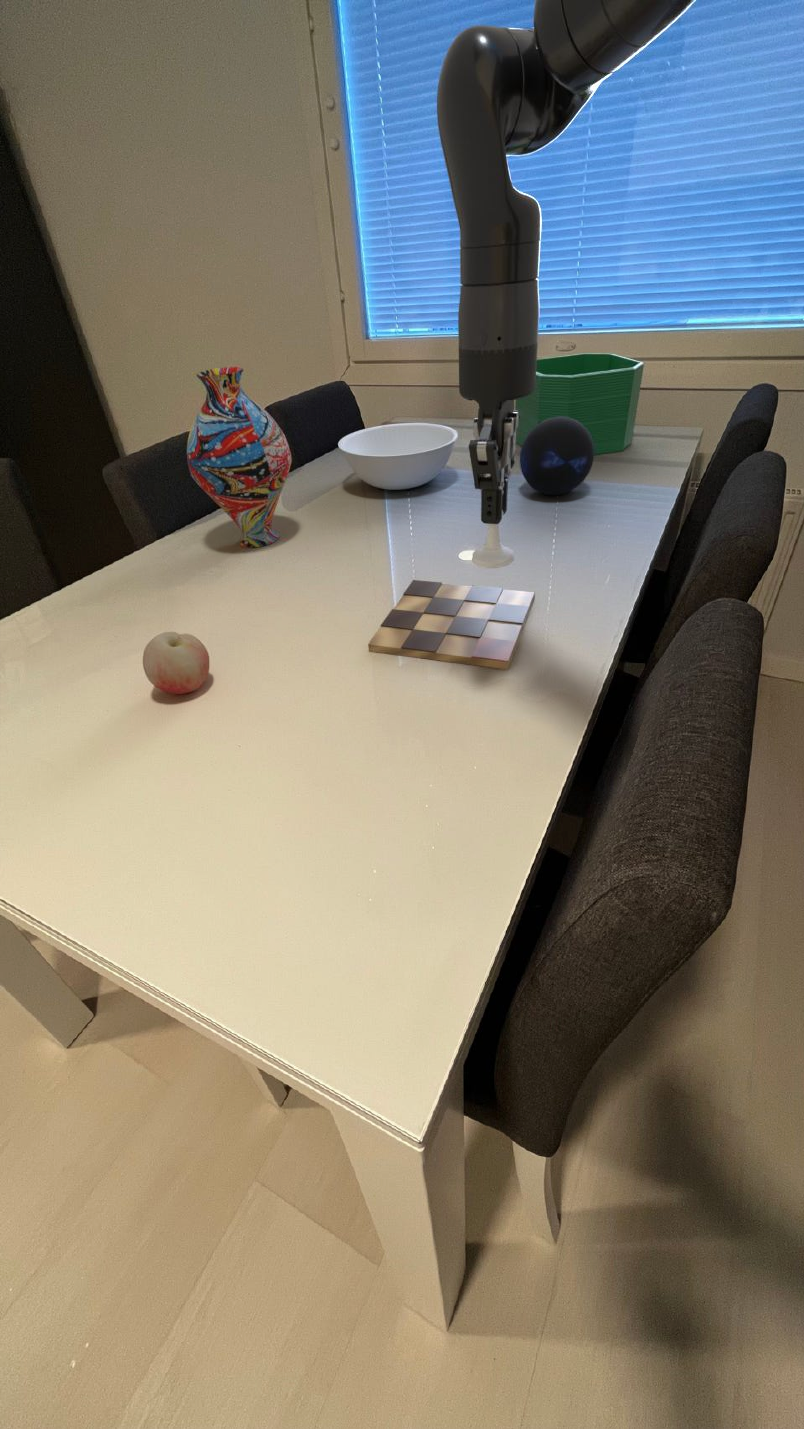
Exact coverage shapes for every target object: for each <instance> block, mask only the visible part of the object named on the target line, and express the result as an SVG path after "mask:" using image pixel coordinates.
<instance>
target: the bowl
mask: <svg viewBox="0 0 804 1429" xmlns="http://www.w3.org/2000/svg"><path fill="white" fill-rule="evenodd" d="M458 437H459V433H458V431H457V430H456V429H454V428H452V427H450V426H447V425H442V424H436V423H430V422H429V423H428V422H427V423H426V422H407V423H406V422H404V423H391V424H384V425H378V426H372V427H367V428H363V429H360V430H356V431H354V432H351V433H349V434H346V435H345V436H343V437H342V438H341V439H340V440H339V441H338V443H337V446H338V448H339V449H340V450H341V451H342V453H343V455H344V458H345V460H346V462H347V464H348V465H349V467H350V469H351V470H352V471H353V473H354V474H355V475H356V476H357V477H358V478H359V479H361V480H362V481H363V482H364V483H366V484H368V485H370V486H372V487H374V488H378V489H381V490H389V491H390V490H391V491H400V490H408V489H413V488H417V487H421V486H423V485H425V484H427V483H430V481H432V480H434V479H435V478H436V477H437V476H438V475H440V473H441V472H442V471H443V470H444V468H445V467H446V465H447V463H448V462H449V459H450V457H451V456H452V453H453V449H454V447H455V446H454V445H455V441H457V439H458Z"/></svg>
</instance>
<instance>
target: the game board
mask: <svg viewBox="0 0 804 1429" xmlns="http://www.w3.org/2000/svg"><path fill="white" fill-rule="evenodd" d="M535 596H536V592H535V591H527V590H526V591H525V590H514V589H505V588H504V587H495V586H485V585H474V584H473V585H460V584H450V583H449V584H448V583H443V582H442V581H441V582H439V581H430V580H420V579H412V581H411V582H410V583H409V585H408V586H407V588H406V589H405V590H404V592H403V593H402V597H400V599H399V600H398V602H397V603H396V605H395V606H394V607H393V608H392V609H391V610H390V611H389V613H388V614H387V615H386V617H385V619H384V620H383V621H382V622H381V624H380V627H379V628H378V630H377V631H376V633H374V635H373V637H372V638H371V640H369V642H368V644H367V647H368V652H372V653H380V654H388V655H394V656H395V655H396V656H402V657H410V658H416V659H417V658H418V659H425V660H432V661H433V660H434V661H439V662H440V661H441V662H448V663H454V664H462V665H463V664H464V665H470V666H471V665H472V666H477V667H485V668H493V669H501V670H509V668H510V665H511V662H512V661H513V657H514V655H515V653H516V649H517V646H518V644H519V641H520V639H521V636H522V634H523V630H524V629H525V626H526V623H527V620H528V617H529V615H530V612H531V610H532V606H533V604H534V602H535V598H536V597H535Z"/></svg>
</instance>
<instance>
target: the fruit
mask: <svg viewBox="0 0 804 1429" xmlns="http://www.w3.org/2000/svg"><path fill="white" fill-rule="evenodd" d="M142 654H143V655H142V668H143V671H144V674H145V676H146V678H147V679H148V680H147V681H149V682H150V684H152V685H153V686H154V687H155V688H157V689H159V690H160V691H162V692H164V693H167V694H172V695H173V694H174V695H183V694H188V693H192V692H194V691H196V690H198V689H199V688H201V686H202V685H203V684H204V683H205V681H206V679H207V677H208V676H209V671H210V665H211V664H210V655H209V651H208V650H207V647H206V645H205V644H204V643H203V642H202V641H201V640H200V639H199V638H198V637H197V636H194V635H193V634H190V633H179V632H175V631H165V632H162V633H159V634H157V635H156V636H154V637H153V638H152V639H150V640H149V641H148V643H147V644H146V646H145V647H144V650H143V653H142Z"/></svg>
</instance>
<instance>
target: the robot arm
mask: <svg viewBox="0 0 804 1429" xmlns="http://www.w3.org/2000/svg"><path fill="white" fill-rule="evenodd" d="M696 1H697V0H535V1H534V8H533V27H532V28H530V29H526V28H516V27H504V26H493V25H482V24H480V25H478V24H477V25H472V26H471V27H467V28H465V29H464V30H462V31H461V32H460V33H458V35H456V37H455V38H454V40H453V41H452V42H451V44H450V46H449V47H448V49H447V51H446V54H445V57H444V59H443V62H442V65H441V69H440V73H439V77H438V84H437V92H436V118H437V128H438V134H439V140H440V145H441V151H442V154H443V159H444V163H445V168H446V172H447V176H448V182H449V185H450V191H451V196H452V201H453V205H454V208H455V214H456V218H457V222H458V228H459V238H460V239H459V275H460V276H459V278H460V279H459V281H460V282H459V284H460V288H459V301H458V302H459V303H458V313H457V314H458V315H457V324H458V325H457V327H458V328H457V330H458V332H457V333H458V393H459V395H460V397H462V398H463V399H465V400H466V401H469V402H470V401H474V402H476V403H477V404H478V410H477V418H474V419H473V423H472V424H473V425H472V435H473V438H474V439H470V440H469V443H468V450H469V457H470V466H471V471H472V477H473V485H474V489H475V490H479V491H480V499H481V501H480V505H481V506H480V521H481V523H483V524H486V525H489V524H498V525H499V524H500V523H501V521H502V519H503V516H504V515H505V514H506V513H507V511H508V493H509V492H508V491H509V490H508V489H509V480H510V478H511V476H512V469H513V468H514V466H515V462H516V461H515V455H516V446H517V443H516V440H517V432H518V423H519V419H520V414H519V411H515V401H516V399H520V398H524V397H526V396H528V395H530V394H531V393H532V392H533V391H534V389H535V383H536V365H537V359H538V347H539V345H538V344H539V330H540V327H539V326H540V291H539V279H538V278H539V277H540V276H539V273H540V258H541V257H540V256H541V255H540V254H541V239H542V238H541V237H542V210H541V206H540V204H539V202H538V200H537V199H536V198H535V197H533V196H531V195H529V194H527V193H524V192H522V191H519V190H517V188H516V187H515V186H514V185H513V182H512V178H511V173H510V168H509V163H508V158H507V157H521V156H528V155H531V154H533V153H536V152H537V151H540V150H542V149H544V148H545V147H547V146H548V145H550V144H551V143H552V142H553V141H555V140H556V139H557V138H559V136H560V135H561V134H562V133H563V132H565V130H566V129H567V128H568V127H569V126H570V124H571V123H572V122H573V121H574V119H575V118H576V117H577V116H578V114H579V113H580V111H581V110H582V109H583V108H584V107H585V105H586V104H587V103H588V102H589V101H590V99H591V97H593V95H594V93H596V91H597V89H598V87H599V86H600V84H601V83H602V82H603V81H604V80H605V79H607V78H608V77H610V76H611V75H612V74H614V73H615V72H616V71H617V70H619V69H620V68H621V67H623V66H624V65H625V64H626V63H628V62H629V61H630V60H631V59H632V58H634V57H635V55H637V54H639V52H641V51H642V50H643V49H644V48H646V47H647V46H648V45H650V43H651V42H653V41H654V40H655V39H657V37H659V36H660V35H661V34H662V33H664V32H665V31H666V30H667V29H668V28H669V27H670V26H672V25H673V24H674V23H675V22H676V21H678V19H679V18H680V17H681V16H683V15H684V14H685V12H686V11H688V9H690V8H691V7H692V5H693V4H694V3H695V2H696ZM502 510H503V515H502Z"/></svg>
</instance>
